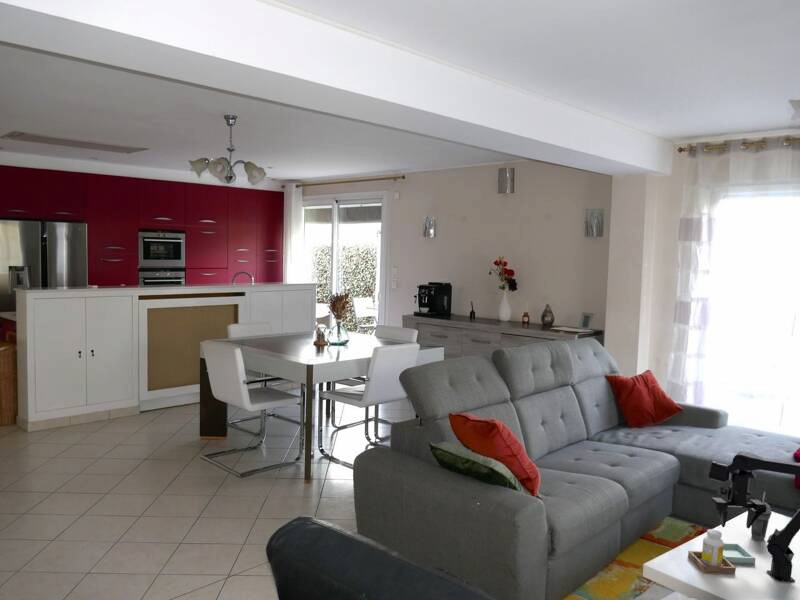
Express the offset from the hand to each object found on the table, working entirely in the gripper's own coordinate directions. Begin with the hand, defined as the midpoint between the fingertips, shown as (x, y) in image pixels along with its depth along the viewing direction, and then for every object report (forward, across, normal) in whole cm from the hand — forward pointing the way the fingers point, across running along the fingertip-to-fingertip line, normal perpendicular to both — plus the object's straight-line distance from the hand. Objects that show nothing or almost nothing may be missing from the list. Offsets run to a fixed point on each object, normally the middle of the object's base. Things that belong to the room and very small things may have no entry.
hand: (735, 527), depth 234 cm
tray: (+13, -2, -4) cm, 14 cm away
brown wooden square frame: (+13, +10, +4) cm, 17 cm away
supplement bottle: (+13, +10, +4) cm, 17 cm away
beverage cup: (+13, -22, -20) cm, 32 cm away
